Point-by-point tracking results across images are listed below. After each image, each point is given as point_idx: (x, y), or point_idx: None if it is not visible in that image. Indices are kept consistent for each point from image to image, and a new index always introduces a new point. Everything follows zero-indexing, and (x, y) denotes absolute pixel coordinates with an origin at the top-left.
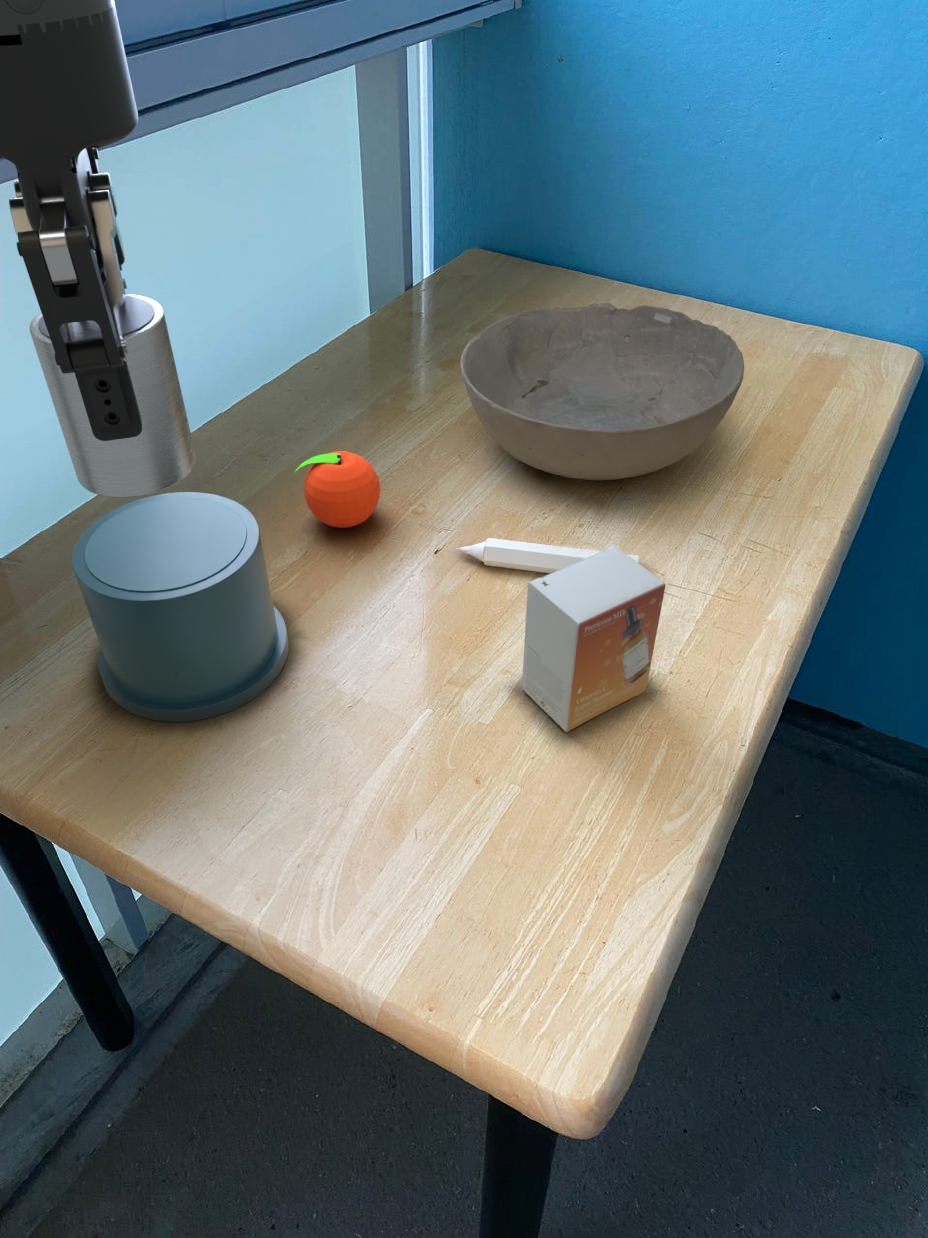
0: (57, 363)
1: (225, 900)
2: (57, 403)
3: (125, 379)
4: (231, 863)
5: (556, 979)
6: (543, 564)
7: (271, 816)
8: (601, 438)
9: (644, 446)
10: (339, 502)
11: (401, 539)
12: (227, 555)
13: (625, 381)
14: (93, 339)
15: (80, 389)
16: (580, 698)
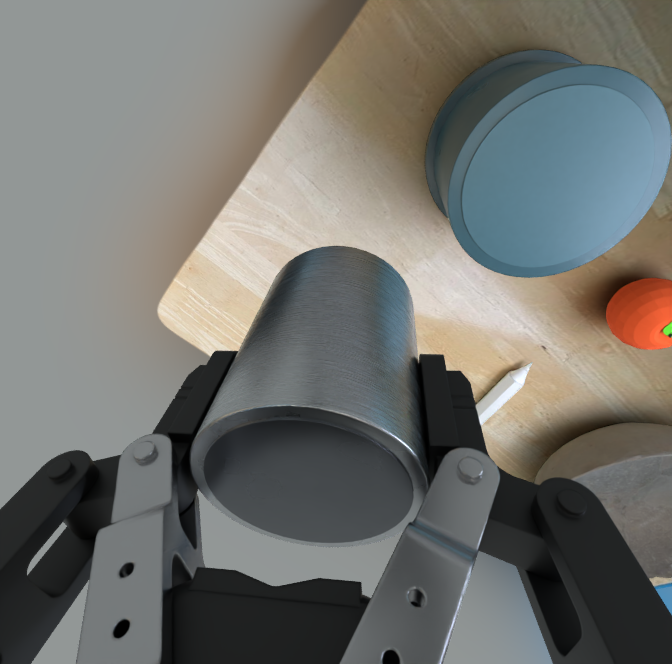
0: (53, 465)
1: (257, 167)
2: (263, 328)
3: None
4: (284, 173)
5: (204, 321)
6: (482, 402)
7: (318, 202)
8: None
9: None
10: (619, 312)
11: (575, 329)
12: (494, 247)
13: (657, 506)
14: (77, 530)
15: (183, 404)
16: None
